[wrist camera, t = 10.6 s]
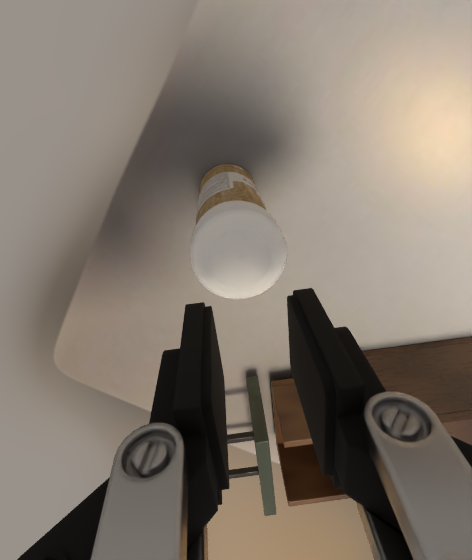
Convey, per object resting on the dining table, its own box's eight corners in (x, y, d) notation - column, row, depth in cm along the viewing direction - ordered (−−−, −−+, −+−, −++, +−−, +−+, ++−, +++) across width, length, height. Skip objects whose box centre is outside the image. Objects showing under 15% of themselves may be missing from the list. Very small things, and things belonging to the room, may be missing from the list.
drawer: (209, 452, 41) (208, 523, 34) (192, 384, 36) (188, 452, 29) (365, 431, 41) (397, 498, 34) (372, 360, 36) (411, 421, 29)
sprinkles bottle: (264, 200, 28) (305, 274, 16) (217, 228, 29) (223, 317, 17) (236, 150, 26) (259, 191, 14) (187, 181, 27) (168, 245, 15)
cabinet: (343, 431, 42) (377, 514, 34) (347, 353, 36) (390, 429, 28) (459, 415, 42) (522, 494, 34) (482, 334, 36) (565, 406, 28)
